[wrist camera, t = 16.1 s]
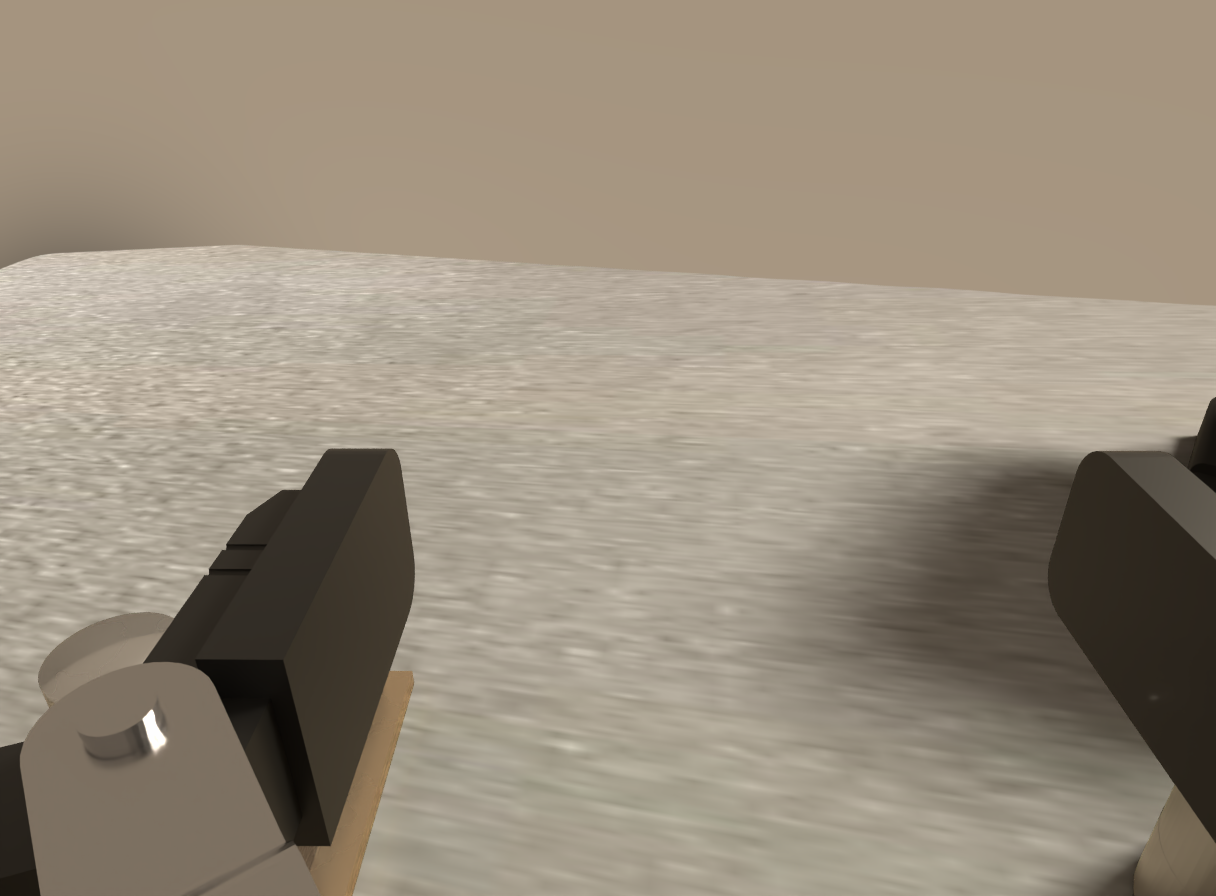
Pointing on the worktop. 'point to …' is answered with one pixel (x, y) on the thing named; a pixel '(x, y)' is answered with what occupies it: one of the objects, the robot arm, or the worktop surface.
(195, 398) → the worktop surface
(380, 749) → the pin socket base plate
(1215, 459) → the coffee maker
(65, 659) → the steel pin
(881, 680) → the worktop surface
